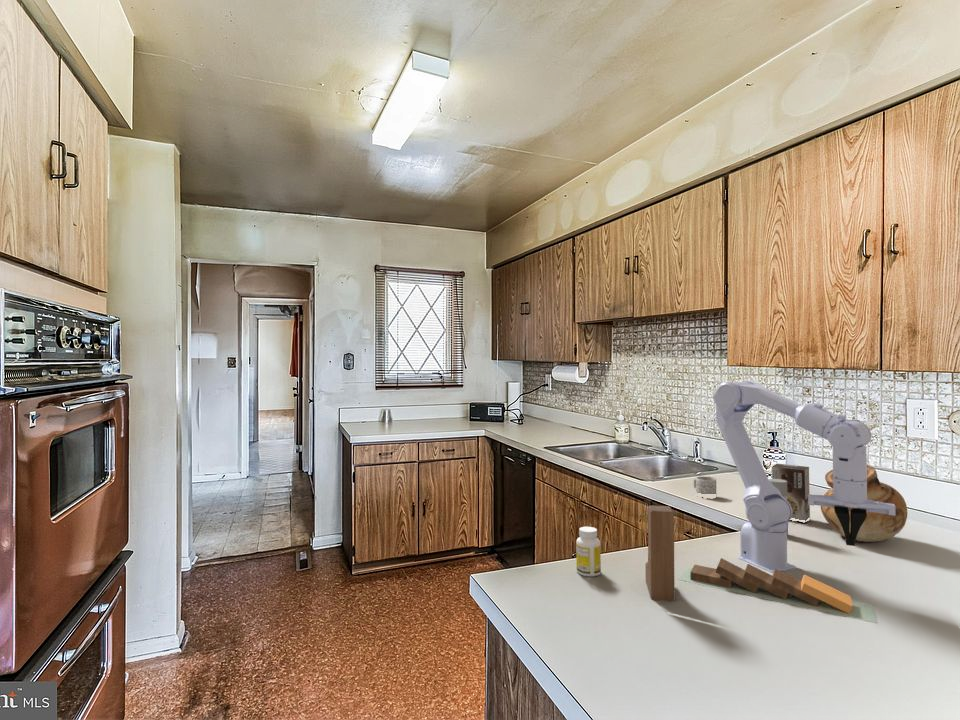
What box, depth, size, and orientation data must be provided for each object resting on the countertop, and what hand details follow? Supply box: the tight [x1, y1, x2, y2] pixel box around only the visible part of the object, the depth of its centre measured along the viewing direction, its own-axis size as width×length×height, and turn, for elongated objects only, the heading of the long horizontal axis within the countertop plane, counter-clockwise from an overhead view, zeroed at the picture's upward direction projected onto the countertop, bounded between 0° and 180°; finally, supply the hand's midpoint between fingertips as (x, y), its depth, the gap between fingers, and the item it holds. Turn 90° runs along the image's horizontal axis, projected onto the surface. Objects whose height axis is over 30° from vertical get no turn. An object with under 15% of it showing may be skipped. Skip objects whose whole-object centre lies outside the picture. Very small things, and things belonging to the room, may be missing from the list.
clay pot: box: [820, 464, 909, 543], centre depth 136 cm, size 19×19×20 cm
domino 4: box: [771, 569, 820, 607], centre depth 101 cm, size 2×5×8 cm
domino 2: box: [715, 558, 759, 593], centre depth 107 cm, size 2×5×8 cm
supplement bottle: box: [575, 526, 602, 577], centre depth 114 cm, size 5×5×10 cm
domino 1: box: [690, 564, 733, 588], centre depth 109 cm, size 2×5×8 cm
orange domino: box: [800, 574, 852, 614], centre depth 98 cm, size 2×5×8 cm
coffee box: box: [771, 463, 811, 521], centre depth 155 cm, size 9×6×16 cm
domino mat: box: [678, 567, 878, 624], centre depth 103 cm, size 34×8×1 cm, turn 57°
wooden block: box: [645, 505, 675, 602], centre depth 104 cm, size 9×4×18 cm, turn 169°
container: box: [768, 478, 789, 536], centre depth 140 cm, size 5×5×15 cm
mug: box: [692, 475, 717, 495], centre depth 182 cm, size 10×7×7 cm, turn 13°
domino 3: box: [743, 563, 788, 600], centre depth 104 cm, size 2×5×8 cm
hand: (850, 544), depth 104 cm, fingers closed
